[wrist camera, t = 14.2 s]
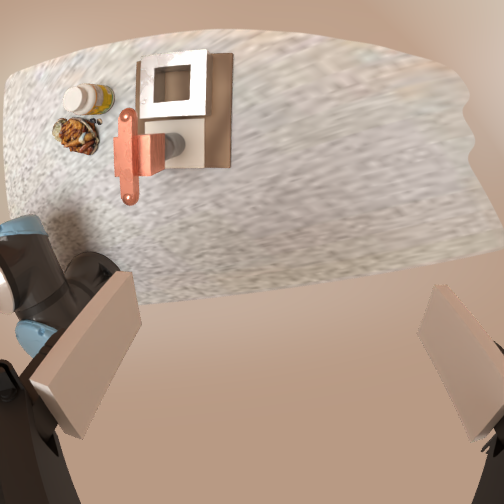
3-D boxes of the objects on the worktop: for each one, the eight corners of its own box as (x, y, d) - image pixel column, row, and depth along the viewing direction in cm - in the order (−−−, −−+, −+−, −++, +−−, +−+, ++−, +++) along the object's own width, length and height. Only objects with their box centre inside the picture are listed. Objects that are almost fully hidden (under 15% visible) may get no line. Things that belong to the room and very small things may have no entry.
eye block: (151, 118, 44) (139, 118, 39) (153, 61, 40) (141, 56, 35) (211, 115, 43) (204, 114, 39) (213, 56, 39) (206, 49, 35)
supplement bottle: (117, 85, 42) (88, 81, 33) (113, 114, 44) (83, 115, 36) (92, 86, 42) (61, 83, 33) (88, 114, 44) (57, 116, 36)
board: (139, 168, 48) (136, 168, 47) (139, 62, 40) (136, 61, 40) (230, 166, 48) (229, 167, 47) (233, 54, 40) (232, 53, 39)
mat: (147, 168, 47) (146, 169, 47) (146, 121, 44) (144, 122, 43) (204, 167, 47) (204, 168, 46) (205, 118, 44) (204, 118, 43)
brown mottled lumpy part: (56, 116, 45) (46, 116, 41) (104, 118, 45) (94, 118, 42) (53, 149, 47) (42, 152, 44) (99, 155, 48) (89, 157, 45)
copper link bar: (160, 112, 43) (105, 110, 27) (187, 110, 43) (144, 105, 26) (160, 177, 47) (109, 207, 31) (187, 177, 47) (146, 208, 31)
